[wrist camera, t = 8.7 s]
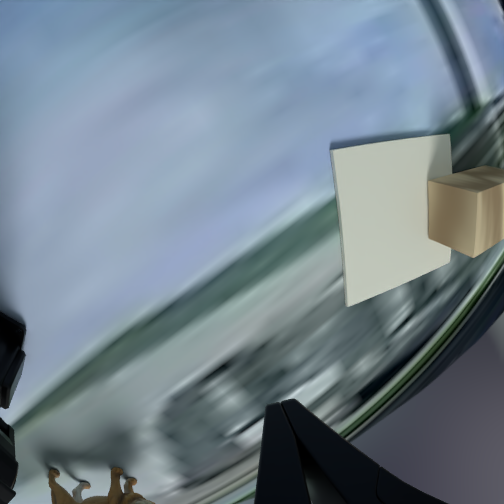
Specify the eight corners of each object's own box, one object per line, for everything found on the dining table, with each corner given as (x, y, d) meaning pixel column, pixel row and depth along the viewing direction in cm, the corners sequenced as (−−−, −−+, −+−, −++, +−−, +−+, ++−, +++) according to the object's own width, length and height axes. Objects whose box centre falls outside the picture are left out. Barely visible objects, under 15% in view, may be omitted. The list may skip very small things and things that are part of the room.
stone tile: (345, 304, 25) (347, 306, 24) (329, 149, 20) (332, 150, 20) (447, 260, 27) (449, 262, 26) (446, 133, 22) (449, 133, 22)
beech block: (473, 258, 20) (522, 225, 22) (477, 193, 18) (525, 174, 20) (428, 238, 24) (484, 212, 26) (427, 180, 22) (485, 165, 24)
